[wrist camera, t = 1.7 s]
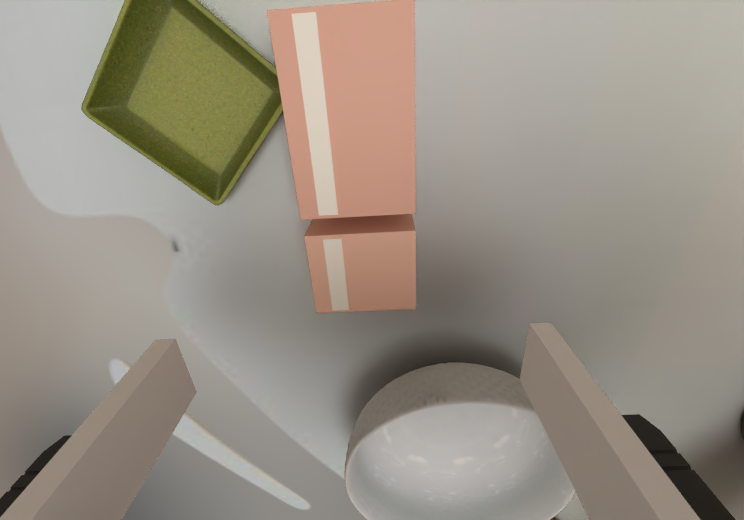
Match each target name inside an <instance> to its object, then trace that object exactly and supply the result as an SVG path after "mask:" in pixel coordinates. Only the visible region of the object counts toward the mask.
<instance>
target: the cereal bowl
mask: <svg viewBox="0 0 744 520" xmlns="http://www.w3.org/2000/svg"><path fill="white" fill-rule="evenodd" d="M345 484H346V490H347V493H348V495H349V497H350V499H351V501H352V503H353V504H354V506H355V507H356V508H357V510H358V511H359V512H360V513H361V514H362V515H363V516H364V517H365V518H366V519H367V520H550V519H552V518H553V517H554V516H555V515H557V514H558V513H559V512H560V511H561V510H562V509H563V508H564V507H565V506H566V505H567V504H568V503H569V501H570V500H571V499H572V497H573V496H574V494H575V492H576V491H575V489H574V487H573V485H572V483H571V481H570V479H569V477H568V475H567V473H566V471H565V469H564V467H563V465H562V463H561V461H560V459H559V457H558V455H557V453H556V451H555V449H554V447H553V445H552V443H551V441H550V439H549V437H548V435H547V433H546V431H545V429H544V427H543V425H542V423H541V421H540V419H539V417H538V415H537V413H536V411H535V409H534V407H533V405H532V403H531V401H530V399H529V397H528V395H527V393H526V391H525V389H524V387H523V385H522V383H521V381H520V379H519V378H517V377H515V376H514V375H511V374H508V373H506V372H505V371H503V370H498V369H496V368H492V367H488V366H484V365H479V364H471V363H463V362H462V363H458V362H456V363H452V362H449V363H442V364H441V363H439V364H436V365H431V366H426V367H422V368H420V369H416V370H413V371H411V372H407V373H406V374H404V375H402V376H400V377H398V378H396V379H394V380H393V381H391V382H390V383H388V384H387V385H385V386H384V387H383V388H382V389H381V390H379V391H378V392H377V393H376V394H375V395H374V396H373V397H372V398H371V400H370V401H369V402H368V403H367V404H366V406H365V407H364V408H363V410H362V411H361V413H360V415H359V417H358V419H357V422H356V424H355V425H354V428H353V432H352V434H351V436H350V441H349V444H348V450H347V455H346V463H345Z"/></svg>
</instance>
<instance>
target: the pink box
mask: <svg viewBox="0 0 744 520" xmlns="http://www.w3.org/2000/svg"><path fill="white" fill-rule="evenodd" d="M304 238H305V244H306V250H307V257H308V263H309V269H310V276H311V282H312V288H313V295H314V301H315V307H316V313H334V312H357V311H380V310H403V309H416V229H415V226H414V222H413V219H412V215H411V214H397V215H379V216H360V217H342V218H324V219H313V220H312V222H311V224H310V226H309V228H308V230H307V232H306V234H305V236H304Z"/></svg>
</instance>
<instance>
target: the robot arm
mask: <svg viewBox="0 0 744 520" xmlns="http://www.w3.org/2000/svg"><path fill="white" fill-rule="evenodd" d="M520 381H521V383H522V385H523V387H524V389H525V391H526V393H527V395H528V397H529V399H530V401H531V403H532V405H533V407H534V409H535V411H536V413H537V415H538V417H539V419H540V421H541V423H542V425H543V427H544V429H545V431H546V433H547V435H548V437H549V439H550V441H551V443H552V445H553V447H554V449H555V451H556V453H557V455H558V457H559V459H560V461H561V463H562V465H563V467H564V469H565V471H566V473H567V475H568V477H569V479H570V481H571V483H572V485H573V487H574V489H575V491H576V493H577V495H578V497H579V499H580V501H581V503H582V505H583V507H584V509H585V511H586V513H587V515H588V517H589V519H590V520H735V519H734V518H733V516H732V515H731V514H730V513H729V512H728V510H727V509H726V508H725V507H724V506H723V505H722V503H721V502H720V501H719V500H718V499H717V497H716V496H715V495H714V494H713V493H712V491H711V490H710V489H709V488H708V487H707V485H706V484H705V483H704V482H703V481H702V479H701V478H700V477H699V476H698V475H697V474H696V472H695V471H694V470H691V468H690V465H689V464H688V463H687V462H686V460H685V459H684V458H683V457H682V456H681V454H678V453H677V451H676V448H675V447H674V446H673V445H672V444H671V443H670V441H669V440H668V439H667V438H666V437H665V435H664V434H663V433H662V432H661V431H660V430H659V429H658V428H656V427H655V426H654V425H652V424H651V423H650V422H649V421H647V420H646V419H645V418H643V417H642V416H641V415H621V414H620V413H619V411H618V410H617V409H616V408H615V406H614V405H613V404H612V402H611V401H610V400H609V398H608V397H607V396H606V394H605V393H604V392H603V390H602V389H601V388H600V386H599V385H598V384H597V382H596V381H595V380H594V379H593V377H592V376H591V375H590V373H589V372H588V371H587V369H586V368H585V367H584V365H583V364H582V363H581V361H580V360H579V359H578V357H577V356H576V355H575V353H574V352H573V351H572V350H571V348H570V347H569V346H568V344H567V343H566V342H565V340H564V339H563V338H562V336H561V335H560V334H559V332H558V331H557V330H556V328H555V327H554V326H553V324H552V323H551V322H549V323H530V324H529V329H528V335H527V341H526V346H525V352H524V357H523V363H522V369H521V374H520ZM195 394H196V389H195V387H194V384H193V382H192V380H191V377H190V374H189V372H188V369H187V367H186V364H185V362H184V360H183V357H182V354H181V352H180V349H179V347H178V344H177V342H176V339H165V340H155V341H154V342H153V343H152V344H151V346H150V347H149V348H148V349H147V350H146V351H145V352H144V354H143V355H142V356H141V357H140V358H139V360H138V361H137V362H136V363H135V364H134V365H133V366H132V367H131V368H130V370H129V371H128V372H127V373H126V374H125V375H124V376H123V378H122V379H121V380H120V381H119V382H118V383H117V384H116V386H115V387H114V388H113V389H112V390H111V391H110V392H109V394H108V395H107V396H106V397H105V398H104V399H103V400H102V402H101V403H100V404H99V405H98V406H97V408H96V409H95V410H94V411H93V412H92V413H91V414H90V415H89V417H88V418H87V419H86V420H85V421H84V422H83V423H82V424H81V426H80V427H79V428H78V429H77V430H76V431H75V432H74V434H73V435H71V436H63V437H62V438H61V439H60V440H58V441H57V442H56V443H54V444H53V445H52V446H50V447H49V448H48V449H47V450H45V451H44V452H43V453H42V454H41V455H40V456H39V457H38V458H37V459H36V460H35V461H34V463H33V464H32V465H31V466H30V467H29V468H28V469H27V470H26V471H25V472H26V473H25V475H22V476H21V477H20V478H19V479H18V480H17V481H16V482H15V483H14V485H13V486H12V487H11V490H10V491H9V492H6V493H5V494H4V495H3V496H2V498H1V499H0V520H121V519H122V518H123V516H124V514H125V513H126V511H127V509H128V508H129V506H130V504H131V503H132V501H133V499H134V498H135V496H136V494H137V492H138V491H139V489H140V487H141V486H142V484H143V482H144V481H145V479H146V477H147V475H148V474H149V472H150V470H151V469H152V467H153V465H154V464H155V462H156V460H157V458H158V457H159V455H160V453H161V452H162V450H163V448H164V447H165V445H166V443H167V441H168V440H169V438H170V436H171V435H172V433H173V431H174V430H175V428H176V426H177V424H178V423H179V421H180V419H181V418H182V416H183V414H184V413H185V411H186V409H187V407H188V406H189V404H190V402H191V401H192V399H193V397H194V395H195ZM742 435H743V438H744V417H743V421H742Z"/></svg>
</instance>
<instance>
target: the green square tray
mask: <svg viewBox="0 0 744 520" xmlns="http://www.w3.org/2000/svg"><path fill="white" fill-rule="evenodd" d="M81 110H82V111H83V112H84V114H85V115H86V116H87V117H88V118H90V119H91V120H93V121H94V122H95V123H97V124H98V125H99V126H101V127H103V128H104V129H106V130H107V131H108V132H110V133H111V134H113V135H114V136H115V137H117V138H119V139H120V140H121V141H123V142H124V143H126V144H127V145H129V146H130V147H132V148H133V149H135V150H136V151H138V152H139V153H141V154H142V155H144V156H145V157H147V158H148V159H149V160H151V161H152V162H154V163H155V164H157V165H158V166H160V167H161V168H162V169H164V170H165V171H167V172H168V173H170V174H171V175H172V176H174V177H175V178H177V179H178V180H180V181H181V182H183V183H184V184H185V185H187V186H188V187H190V188H191V189H192V190H194V191H195V192H197V193H198V194H199V195H201V196H202V197H204V198H205V199H207V200H208V201H210V202H211V203H213V204H214V205H220V204H222V203H223V202H224V200H225V199H226V197H227V196H228V194H229V193H230V191H231V190H232V188H233V187H234V185H235V183H236V182H237V180H238V179H239V177H240V176H241V174H242V173H243V171H244V169H245V168H246V166H247V165H248V163H249V162H250V160H251V159H252V157H253V156H254V154H255V153H256V151H257V150H258V148H259V147H260V145H261V144H262V142H263V141H264V139H265V137H266V136H267V134H268V133H269V132H270V130H271V128H272V127H273V125H274V124H275V122H276V121H277V119H278V118H279V116H280V115H281V113H282V112H283V107H282V101H281V95H280V88H279V82H278V76H277V70H276V68H275V67H274V66H273V65H272V64H271V63H270V62H268V61H267V60H266V59H265V58H263V57H262V56H261V55H260V54H259V53H258V52H256V51H255V50H254V49H253V48H252V47H250V46H249V45H248V44H247V43H246V42H245V41H244V40H242V39H241V38H240V37H239V36H238V35H236V34H235V33H234V32H233V31H232V30H231V29H229V28H228V27H227V26H226V25H225V24H224V23H222V22H221V21H220V20H219V19H218V18H217V17H215V16H214V15H213V14H212V13H211V12H210V11H209V10H207V9H206V8H205V7H204V6H203V5H201V4H200V3H199V2H198V1H197V0H125V1H124V4H123V6H122V9H121V11H120V14H119V16H118V19H117V22H116V24H115V26H114V29H113V31H112V34H111V36H110V38H109V41H108V43H107V45H106V48H105V50H104V53H103V55H102V58H101V60H100V63H99V65H98V67H97V70H96V72H95V74H94V77H93V79H92V81H91V84H90V86H89V89H88V91H87V94H86V96H85V98H84V101H83V103H82V108H81Z"/></svg>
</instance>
